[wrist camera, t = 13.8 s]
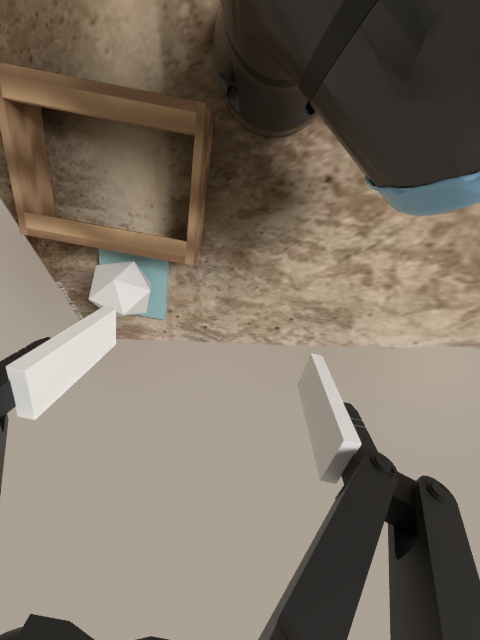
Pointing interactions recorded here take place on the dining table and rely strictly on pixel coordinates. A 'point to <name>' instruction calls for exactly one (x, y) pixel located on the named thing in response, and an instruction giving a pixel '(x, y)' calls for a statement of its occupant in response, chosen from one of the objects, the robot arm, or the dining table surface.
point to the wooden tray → (108, 103)
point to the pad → (153, 271)
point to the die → (121, 288)
